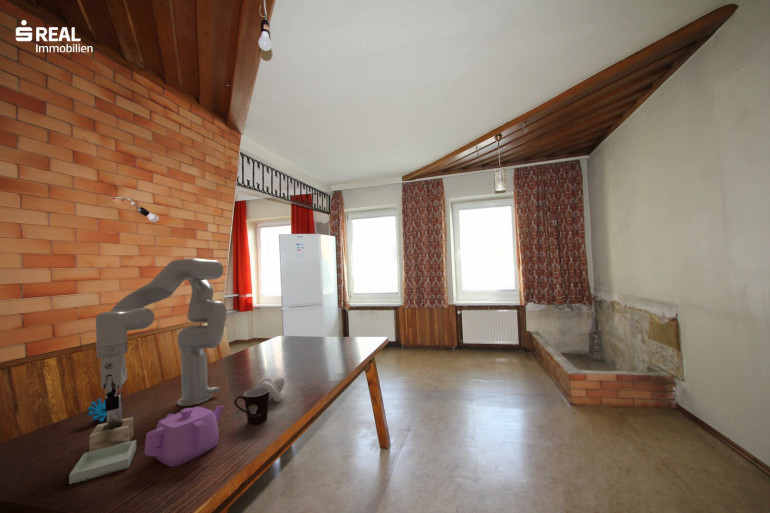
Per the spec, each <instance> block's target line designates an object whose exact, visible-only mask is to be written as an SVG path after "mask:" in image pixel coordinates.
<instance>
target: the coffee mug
mask: <svg viewBox="0 0 770 513" xmlns="http://www.w3.org/2000/svg"><path fill="white" fill-rule="evenodd" d="M269 391H270V390H269V389H268V388H256V387H255V388H251V389H249V390H247V391H245V392H244V393H243V396H242V395H240V396H236V398H235V399H234V406H235V407H236V408H237V409H238V410H240V411H242V412H243V413H245V414H246V419H247V424H248V425H251V426H256V425H260V424H263V423H265V422H266V421H267V420H268V415H269V414H268V412H269V402H270V401H269ZM238 399H242V400H243V401H244V405H245V409H243V408H242V407H241V406H239V405H238V403H237V401H238Z"/></svg>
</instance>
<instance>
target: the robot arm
mask: <svg viewBox="0 0 770 513" xmlns="http://www.w3.org/2000/svg"><path fill="white" fill-rule="evenodd" d="M223 274H224V266H223V264H222V263H221V262H220V261H219V260H216V259H201V258H185V259H184V258H183V259H174V260H171V261H170V262H169V263H167V265H166V266H165V267H164V268H162V270H161V271H160V272H159V273H158V274H157V275H156V276H155V277H154V278H153V279H152V280H151V281H150V282H149V283H147V284H145V285H143V286H141V287H140V288H138V289H136V290H135V291H134V290H133V291H132V292H130V293H128V295H126V296H124V297H123V298H122V299H120V301H118V303H116V305H115V306H113V307H112V309H111V310H109V311H106V312H105V311H104V312H101V313H98V314H97V315H96V317H95V339H96V358H98V359H100V385H101V386H100V388H101V389H102V390H105V393H104V394H105V398H104V400H105V406H106V411H110V410H115V409H118V408H119V396H117V395H118V387H121V404H122V403H123V391H122V390H123V389H122V386H123V385H124V384H125V382H126V381H127V379H128V374H127V373H128V372H127V361H126V354H127V353H128V332H129V331H136V330H137V331H139V330H144V329H146V328H148V327H150V326H151V325H152V324H153V323H154V321H155V313H154V312H153V311H152V310H151V309H149V308H147V306H150V305H151V304H155V303H158V302H161V301H163V300H166V299H168V298H170V297H171V296H172V295H173V294H174V293H175V292H176V290H177V289H178V288H179V287H180V286H181V284H182V283H183V282H184V281H185V280H187V281H188V282H189V284H190V286H191V295H190V300H189V304H188V310H187V319H188V321H189V322H191V323H195V324H201V323H202V324H203V323H206V325H190V326H186V327H184V328H182V329H181V330H180V331H179V333H178V335H177V342H178V347H179V351H180V352H179V353H180V364H181V366H180V367H181V368H180V370H181V371H180V375H181V378H180V379H181V382H180V383H181V397H180V398H179V399H178V400H177V401H176V402H177V405H178V406H180V407H189V406H190V407H191V406H196V405H199V404H203V403H205V402H207V401H209V400H211V398H212V396H213V395H212V394H213V393H214V394H215V393H220V386H219V387H218V386H213V387H209V384H208V355H207V352H206V351H205V349H213V348H214V349H215V348H216V347H218V346H219V345H220V344H221V342H222V339H223V337H224V330H225V326H226V325H225V324H226V320H227V319H226V318H227V313H228V312H227V306H226V305H225V303H224V302H223V301H221V300H213V297H214V288H213V286H212V284H211V282H210V280H211V281H212V280H218V279H220V278H221V277H222V276H223ZM112 389H115V391H114V390H112Z"/></svg>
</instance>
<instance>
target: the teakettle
mask: <svg viewBox="0 0 770 513" xmlns="http://www.w3.org/2000/svg"><path fill="white" fill-rule="evenodd" d="M224 408H225V405H217V406H216V408H215V409H214V410H211V409H208V408H206V407H202V406H200V405H199V406H194V407H186V408H183V409H181V410H180V411H179V412H177V413H175V414H174V413H169V414H166V415H165V418H162V419H161V420H159V421H157V425H156V428H155V429H153V430H150V431H148V432H146V434H145V442H144V443H145V445H144V452H143V453H144V454H145V455H146V456H149V457H155V459H156V460H157V461H159V462H160V463H162V464H163V465H166V466H168V467H169V468H175V467H178V466H181V465H183V464H185V463H186V462H189V461H191V460H193V459H195V458H197V457H199V456H201V455H203V454H205V453H207V452H208V451H210V450H212V449H214V448H215V447H217V445H218V442H219V437H220V435H219V426H218V424H219V422H220V419H221V417H222V414H223V412H224Z"/></svg>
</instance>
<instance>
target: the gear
mask: <svg viewBox="0 0 770 513" xmlns="http://www.w3.org/2000/svg"><path fill="white" fill-rule="evenodd" d="M102 401H103V402H102ZM87 411H89V412H88V414H87V415H88V417H89V416H90V417H91V416H92V417H91V419H92V421H97V420H98V422H100V423H103V422H104V421H105V422H107V411H106V406H105V399H104V400H102V398H97V400H96V401H95V400H94V401H92V402H91V403H90V405H89V407H88V408H87ZM105 418H106V420H105Z"/></svg>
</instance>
